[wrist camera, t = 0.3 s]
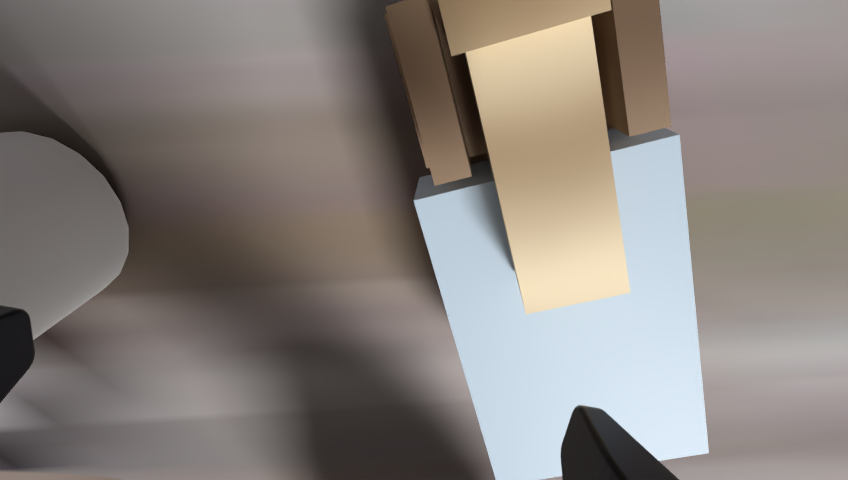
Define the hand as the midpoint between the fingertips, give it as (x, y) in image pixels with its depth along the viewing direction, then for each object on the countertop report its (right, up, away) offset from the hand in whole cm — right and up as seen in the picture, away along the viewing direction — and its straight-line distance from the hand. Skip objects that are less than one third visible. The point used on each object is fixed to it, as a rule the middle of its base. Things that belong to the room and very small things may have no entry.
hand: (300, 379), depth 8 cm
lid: (+7, 0, +10) cm, 12 cm away
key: (+5, +5, +5) cm, 9 cm away
